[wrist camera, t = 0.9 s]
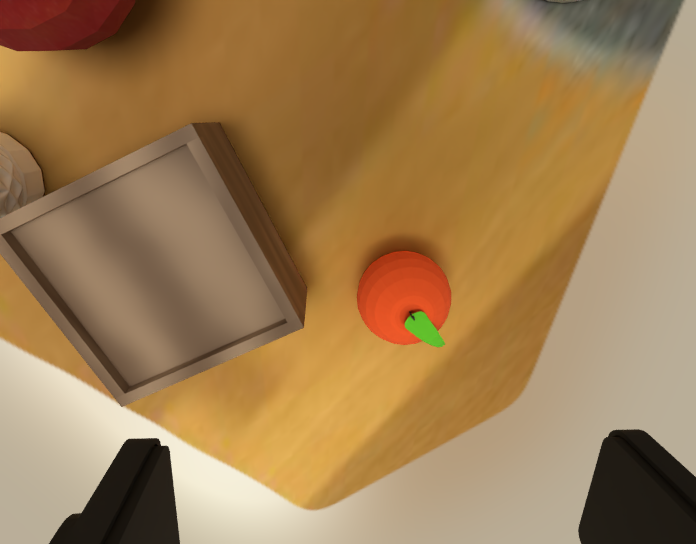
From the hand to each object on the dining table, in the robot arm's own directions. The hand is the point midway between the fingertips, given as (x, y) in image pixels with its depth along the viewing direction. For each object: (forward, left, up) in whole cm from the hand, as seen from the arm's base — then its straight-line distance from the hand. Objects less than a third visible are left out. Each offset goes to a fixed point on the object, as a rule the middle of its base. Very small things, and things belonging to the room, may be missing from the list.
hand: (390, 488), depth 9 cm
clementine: (-2, +7, -25) cm, 26 cm away
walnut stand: (+12, -3, -25) cm, 28 cm away
